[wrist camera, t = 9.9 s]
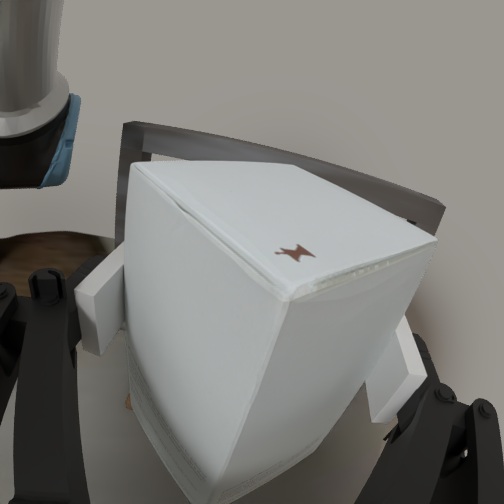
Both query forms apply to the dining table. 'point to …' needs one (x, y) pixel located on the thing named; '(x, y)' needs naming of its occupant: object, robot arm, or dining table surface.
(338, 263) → the supplement box
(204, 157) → the keeper arch
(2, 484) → the dining table surface
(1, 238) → the dining table surface
